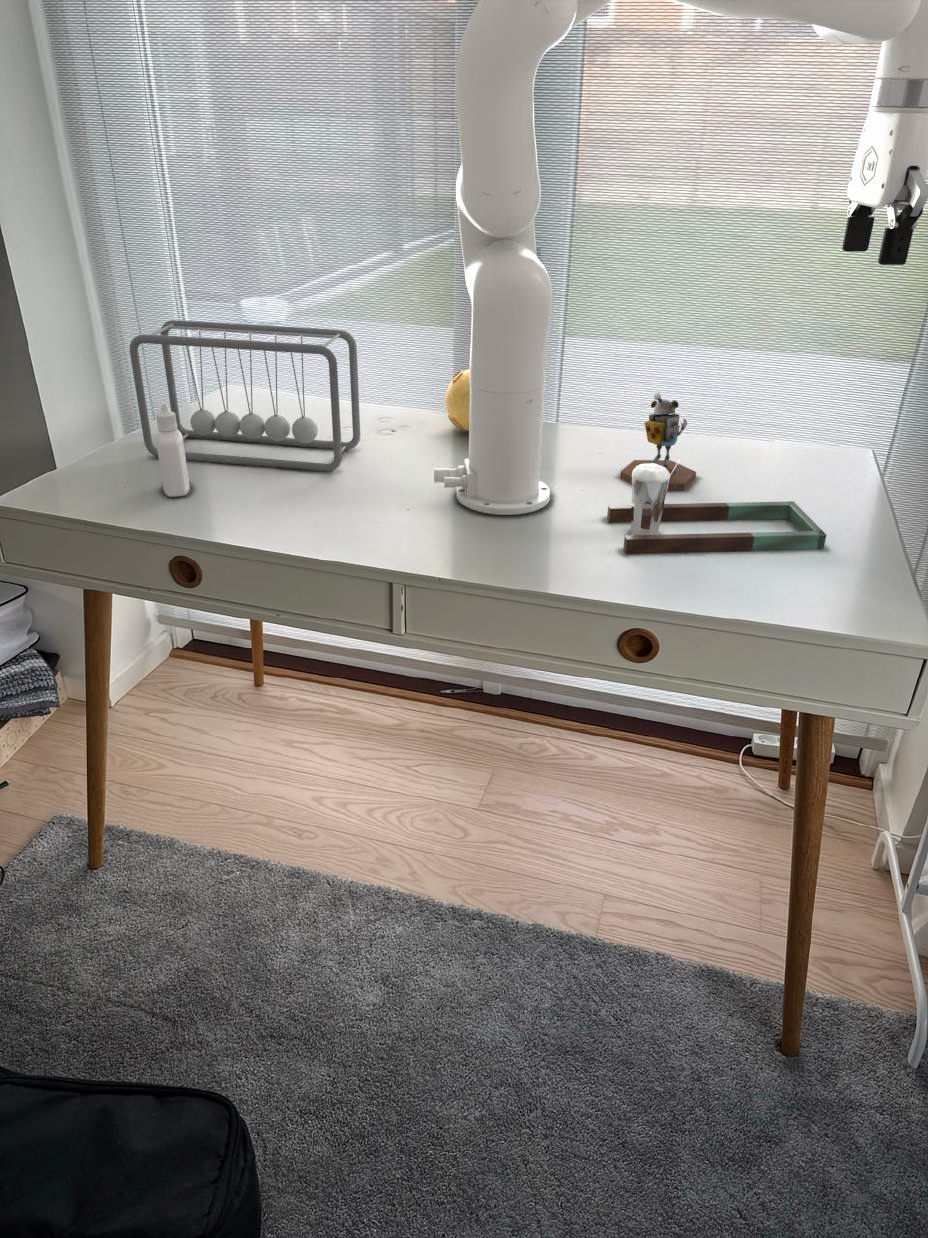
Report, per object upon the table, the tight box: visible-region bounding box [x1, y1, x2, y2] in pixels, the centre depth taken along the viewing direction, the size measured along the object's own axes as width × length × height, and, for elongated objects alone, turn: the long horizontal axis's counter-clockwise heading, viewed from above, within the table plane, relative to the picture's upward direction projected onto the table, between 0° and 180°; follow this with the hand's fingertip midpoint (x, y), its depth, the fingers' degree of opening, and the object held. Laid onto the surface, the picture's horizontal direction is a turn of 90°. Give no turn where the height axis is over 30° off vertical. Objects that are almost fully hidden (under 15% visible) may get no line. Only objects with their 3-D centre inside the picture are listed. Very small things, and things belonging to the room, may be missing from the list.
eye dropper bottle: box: [155, 402, 191, 498], centre depth 126 cm, size 4×6×12 cm
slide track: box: [606, 500, 827, 555], centre depth 118 cm, size 24×10×2 cm, turn 95°
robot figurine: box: [619, 392, 697, 492], centre depth 132 cm, size 11×9×12 cm
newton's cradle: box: [129, 319, 361, 472], centre depth 137 cm, size 30×10×18 cm, turn 79°
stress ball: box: [445, 368, 470, 432], centre depth 150 cm, size 10×10×10 cm
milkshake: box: [630, 460, 680, 535], centre depth 116 cm, size 5×5×10 cm
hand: (872, 257), depth 116 cm, fingers open, 9 cm apart
